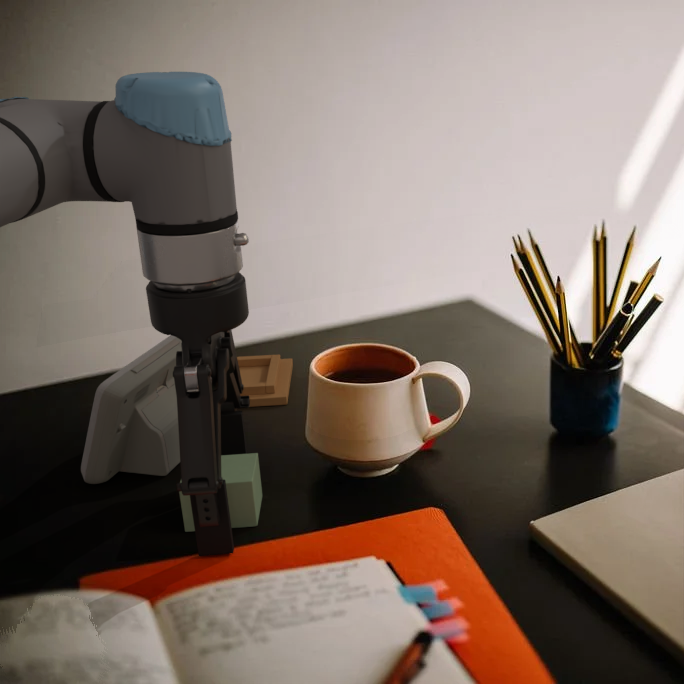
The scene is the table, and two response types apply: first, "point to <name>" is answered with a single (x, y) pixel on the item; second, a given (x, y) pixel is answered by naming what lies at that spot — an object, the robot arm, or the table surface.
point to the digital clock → (135, 418)
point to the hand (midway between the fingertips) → (226, 511)
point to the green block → (235, 491)
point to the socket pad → (266, 379)
